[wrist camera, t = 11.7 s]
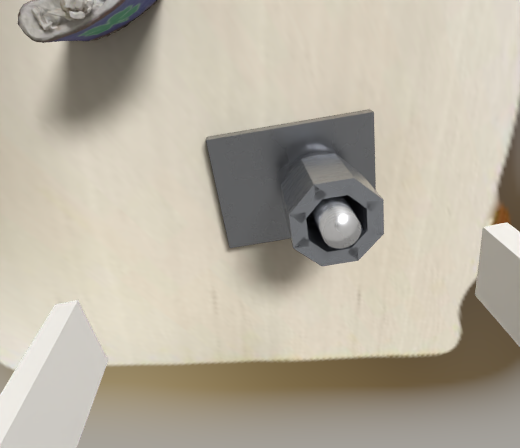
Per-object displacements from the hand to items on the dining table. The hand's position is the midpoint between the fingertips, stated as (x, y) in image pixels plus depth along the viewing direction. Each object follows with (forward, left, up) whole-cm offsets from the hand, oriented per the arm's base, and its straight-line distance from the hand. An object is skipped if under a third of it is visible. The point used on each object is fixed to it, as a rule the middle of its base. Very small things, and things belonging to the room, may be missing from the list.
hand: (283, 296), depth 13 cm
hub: (+7, +5, -24) cm, 25 cm away
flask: (-11, -10, -28) cm, 32 cm away
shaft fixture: (+7, +3, -28) cm, 29 cm away
